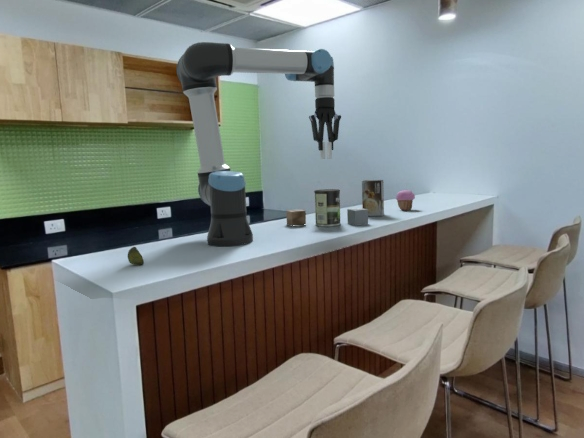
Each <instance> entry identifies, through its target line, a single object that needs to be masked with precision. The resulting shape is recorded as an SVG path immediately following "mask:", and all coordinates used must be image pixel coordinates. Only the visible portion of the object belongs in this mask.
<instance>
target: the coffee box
mask: <svg viewBox="0 0 584 438" xmlns="http://www.w3.org/2000/svg"><path fill="white" fill-rule="evenodd" d="M384 192H385V191H384V180H383V179H367V180H362V181H361V195H362V196H361V199H362V201H361V202H362V205H361V208H363V209H368V217H383V216H384V215H385V203H384V202H385V199H384V198H385V197H384V194H385V193H384Z"/></svg>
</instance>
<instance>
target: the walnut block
mask: <svg viewBox="0 0 584 438" xmlns="http://www.w3.org/2000/svg"><path fill="white" fill-rule="evenodd" d="M285 212H286V225H287V224H289V225H292V226H293V225H303V226H305V225H304V224H306V225H307V219H306V218H307V217H306V215H307V214H306V210H303V209H299V208H298V209H290V210H288V209H287V210H285ZM289 225H288V226H289ZM292 226H291V227H292ZM293 227H294V226H293Z"/></svg>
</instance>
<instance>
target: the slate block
mask: <svg viewBox="0 0 584 438" xmlns="http://www.w3.org/2000/svg"><path fill="white" fill-rule="evenodd" d="M346 213H347V216H346V217H347V224H349V225H351V226H363V225H369V216H368V209H363V207H357V208H355V207H354V208H353V207H352V208H347V211H346Z"/></svg>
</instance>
